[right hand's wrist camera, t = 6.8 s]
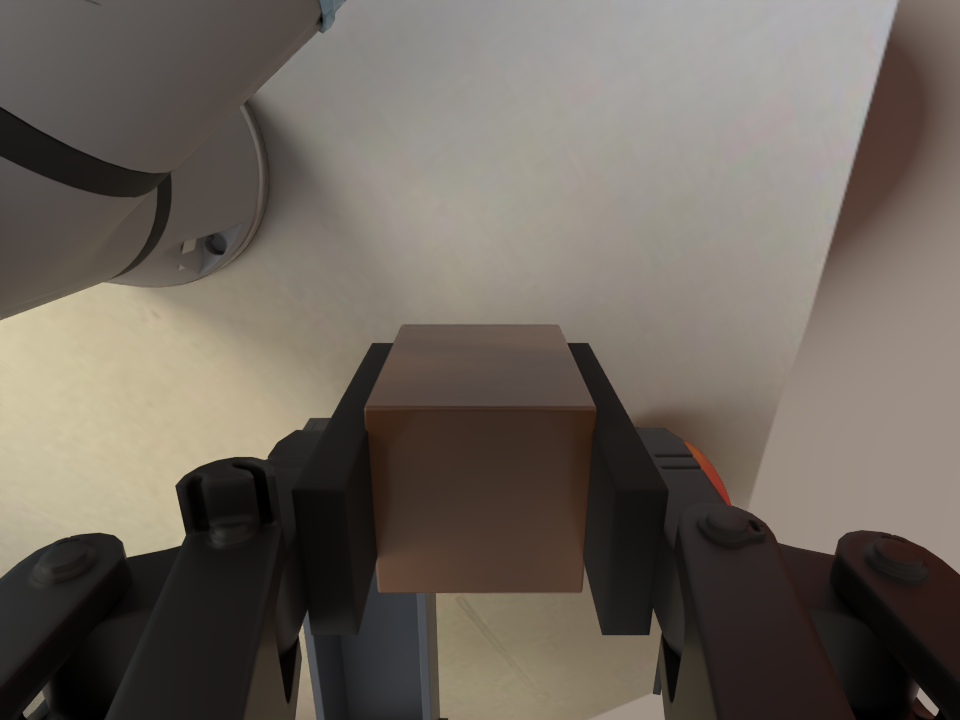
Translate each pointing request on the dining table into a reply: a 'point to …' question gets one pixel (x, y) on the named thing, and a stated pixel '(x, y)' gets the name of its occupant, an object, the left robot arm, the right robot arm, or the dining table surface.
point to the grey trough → (378, 657)
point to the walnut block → (480, 461)
